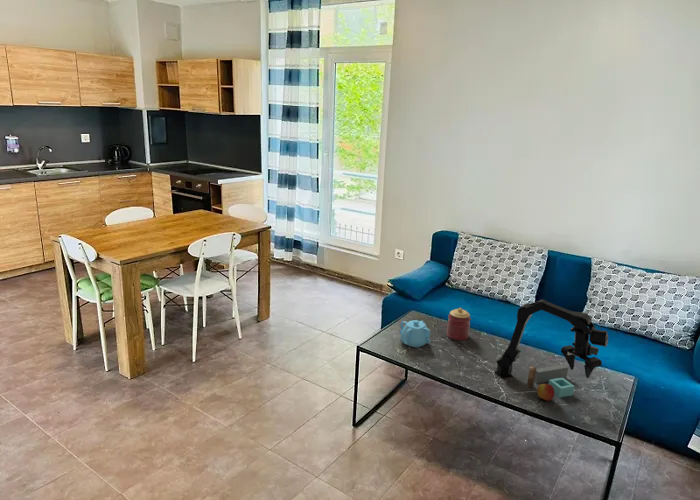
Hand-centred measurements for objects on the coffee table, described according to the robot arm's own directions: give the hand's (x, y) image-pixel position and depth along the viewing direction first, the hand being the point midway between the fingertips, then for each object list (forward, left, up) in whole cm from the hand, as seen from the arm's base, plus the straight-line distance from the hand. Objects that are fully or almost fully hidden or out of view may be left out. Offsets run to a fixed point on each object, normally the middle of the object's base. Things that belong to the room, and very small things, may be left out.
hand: (579, 373), depth 225 cm
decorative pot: (-48, +72, -14) cm, 87 cm away
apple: (-14, +4, -14) cm, 20 cm away
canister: (-19, +74, -14) cm, 77 cm away
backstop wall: (+1, +19, -14) cm, 23 cm away
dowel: (-13, +16, -14) cm, 24 cm away
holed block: (-2, +8, -14) cm, 16 cm away
